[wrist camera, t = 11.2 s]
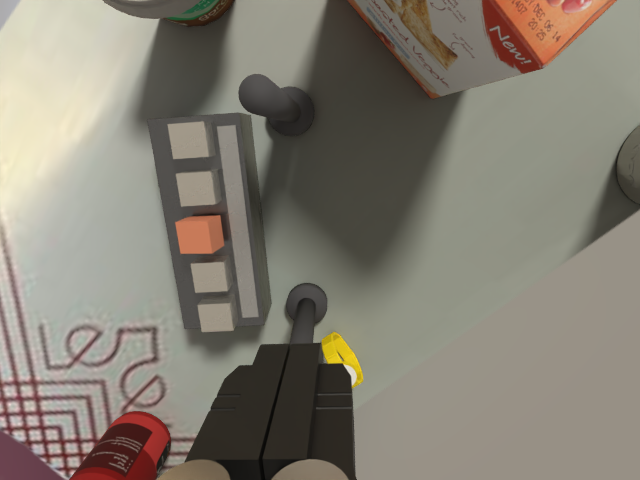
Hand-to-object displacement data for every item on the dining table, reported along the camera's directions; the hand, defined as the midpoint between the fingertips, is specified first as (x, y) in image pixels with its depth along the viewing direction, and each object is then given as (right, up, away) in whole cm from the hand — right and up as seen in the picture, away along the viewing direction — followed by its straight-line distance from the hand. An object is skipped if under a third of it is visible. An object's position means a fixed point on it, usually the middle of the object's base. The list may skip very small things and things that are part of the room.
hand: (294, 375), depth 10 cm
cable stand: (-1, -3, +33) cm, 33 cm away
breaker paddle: (-10, +4, +26) cm, 28 cm away
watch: (+3, -9, +35) cm, 36 cm away
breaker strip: (-9, +6, +31) cm, 33 cm away
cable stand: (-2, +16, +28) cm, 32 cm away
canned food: (-21, -21, +39) cm, 49 cm away
